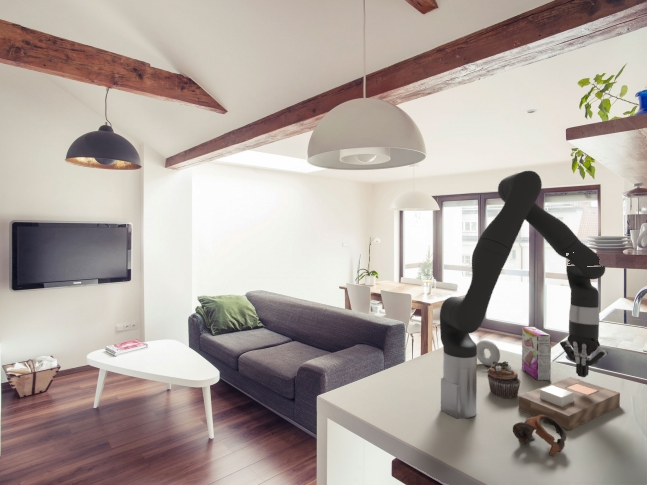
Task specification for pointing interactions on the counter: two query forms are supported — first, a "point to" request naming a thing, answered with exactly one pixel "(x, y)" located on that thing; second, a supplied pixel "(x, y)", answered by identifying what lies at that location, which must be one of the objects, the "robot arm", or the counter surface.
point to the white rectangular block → (556, 395)
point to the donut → (493, 351)
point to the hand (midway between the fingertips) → (582, 376)
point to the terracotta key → (582, 389)
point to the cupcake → (503, 380)
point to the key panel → (571, 404)
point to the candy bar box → (536, 353)
